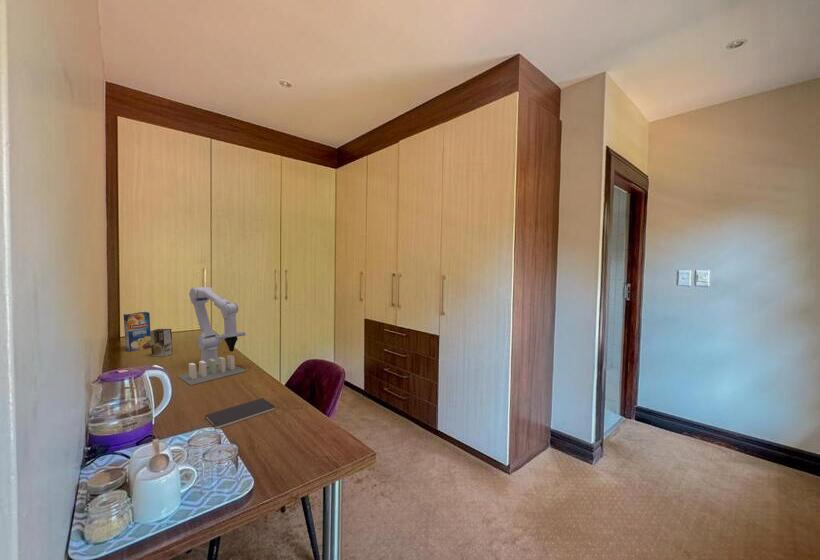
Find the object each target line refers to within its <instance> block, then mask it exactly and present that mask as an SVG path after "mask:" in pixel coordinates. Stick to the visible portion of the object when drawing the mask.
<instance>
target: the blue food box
mask: <svg viewBox="0 0 820 560" xmlns="http://www.w3.org/2000/svg"><path fill="white" fill-rule="evenodd" d="M150 317H151V316H150V312H148V311H141V312H140V311H139V312H133V313H131V312H130V313H123V325H124V328H123V329H124V346H125V351H127V352H129V353H130V352H131V353H132V352H136V351H142V350H147V349H152V348H151V335H150V331H151V318H150Z"/></svg>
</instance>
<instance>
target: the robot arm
mask: <svg viewBox="0 0 820 560" xmlns="http://www.w3.org/2000/svg"><path fill="white" fill-rule="evenodd" d="M188 295H189V299H190V302H191V304H192V305H193V308H194V311H195V315H196V319H197V321H198V325H199V329H200V332H201V334H200V335H199V336H198V337H197V346H198V348H199V350H201V351H200V361H204V362H206V368H209V359H214V360H216V366H218V357H219V356H218V349H219V346H220V345H221V341H222V340H224V342H225V343H226V345H227V348H228V350H229V352H234V349H235V346H236V344H237V341H238V337H243V336H244V337H245V336H246V331H239V332H238V330H237V329H238V328H237V313H238V312H239V306H238V304H237V303H236V302H230V301H229V300H227V299H226V298H225V297H224V296H218V295H217V294H216V293H215V292H214V290H213V288H212V287H210V286H203V287H201V286H200V287H192V288H190V290H189V293H188ZM209 300H210V301H211V302H213V305H214V306H215V307H216V308H217V309H219V310H220V313H221V314H222V318H223V326H224V328H223V330H224V333H223V334H218V333H217V332H215V330H214V331H213V329H212V325H211V322H210V318H209V315H208V311H207V307H206V303H209Z"/></svg>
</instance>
